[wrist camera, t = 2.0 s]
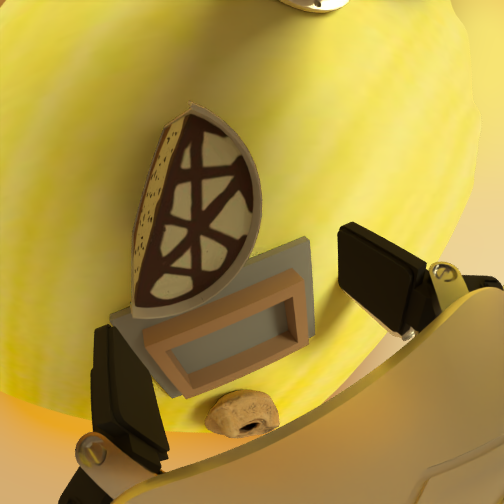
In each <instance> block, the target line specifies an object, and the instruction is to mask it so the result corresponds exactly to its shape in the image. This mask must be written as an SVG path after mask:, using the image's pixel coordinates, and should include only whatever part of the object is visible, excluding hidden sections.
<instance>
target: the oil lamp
mask: <svg viewBox="0 0 504 504" xmlns="http://www.w3.org/2000/svg"><path fill="white" fill-rule="evenodd" d="M279 424H280V423H279V415H278V410H277V408H276V406H275V405H274V403H273V401H272V399H271V398H270V396H269V395H268V394H265V393H263V392H260V391H252V390H238V391H235V392H231V393H228V394H226V395H224V396H223V397H221V398H220V399H219V400H218V401H217V403H216V404H215V405H214V407H212V409H211V410H210V411H209V413H208V416H207V417H206V419H205V425H206V427H207V429H208V430H210V431H212V432H214V433H217V434H222V435H225V436H227V437H229V438H243V437H248V436H252V435H259V434H264V433H267V432H269V431H272V430H273V429H274V428H276V427H278V426H279Z"/></svg>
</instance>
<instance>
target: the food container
mask: <svg viewBox="0 0 504 504" xmlns="http://www.w3.org/2000/svg"><path fill="white" fill-rule="evenodd" d="M188 104H189V105H190V108H189V109H188V110H187V111H185V112H184V113H182V114H181V115H179V116H178V117H176V118H175V119H173V120H172V121H171V122H169V123H168V124H166V125H165V126H164V128H163V131H162V133H161V136H160V139H159V142H158V145H157V148H156V150H155V153H154V156H153V160H152V163H151V166H150V169H149V172H148V175H147V179H146V182H145V185H144V189H143V192H142V196H141V200H140V203H139V207H138V211H137V215H136V219H135V223H134V227H133V232H132V248H131V296H132V302H130V308H131V314H132V317H133V318H134V319H155V318H164V317H169V316H173V315H178V314H180V313H183V312H186V311H189V310H191V309H193V308H195V307H197V306H199V305H201V304H203V303H205V302H207V301H208V300H210V299H211V298H213V297H214V296H216V295H217V294H218V293H219V292H220V291H222V290H223V289H224V288H225V287H226V286H227V285H228V284H229V283H230V282H231V281H232V280H233V279H234V278H235V277H236V275H237V274H238V273H239V272H240V270H241V269H242V267H243V266H244V264H245V263H246V261H247V260H248V258H249V256H250V254H251V252H252V249H253V247H254V245H255V242H256V239H257V236H258V233H259V228H260V223H261V217H262V193H261V185H260V179H259V175H258V172H257V169H256V165H255V163H254V161H253V159H252V156H251V154H250V152H249V150H248V148H247V147H246V146H245V144H244V143H243V141H242V140H241V139H240V137H239V136H238V134H237V133H236V132H235V131H234V130H233V129H232V128H231V127H230V126H229V125H227V124H226V123H225V122H224V121H223V120H222V119H221V118H220V117H218V116H217V115H215V114H214V113H212V112H211V111H209V110H208V109H206V108H205V107H203V106H200V105H198V104H196V103H194V102H191V101H189V102H188Z"/></svg>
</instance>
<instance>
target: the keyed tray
mask: <svg viewBox="0 0 504 504" xmlns="http://www.w3.org/2000/svg"><path fill="white" fill-rule="evenodd" d="M110 322H111V324H112V325H113V326H115V327H116V328H117V329H118V330H119V332H120V333H121V335H122V336H123V337H124V339H125V340H126V341H127V343H128V344H129V346H130V347H131V348H132V350H133V351H134V352H135V354H136V355H137V356H138V357H139V359H140V360H141V361H142V363H143V364H144V365H145V366H146V368H147V369H148V370H149V372H150V374H151V375H152V376H153V378H154V379H155V380H156V381H157V382H158V383H159V384H160V386H161V387H162V388H163V389H164V390H165V391H166V392H167V393H168V394H169V396H170V397H171V398H175V397H178V396H181V395H183V396H184V397H185V398H186V399H188V398H191V397H193V396H196V395H199V394H201V393H204V392H207V391H209V390H212V389H214V388H217V387H219V386H222V385H224V384H226V383H229V382H231V381H234V380H236V379H238V378H241V377H243V376H245V375H247V374H250V373H252V372H254V371H256V370H258V369H260V368H263V367H265V366H267V365H269V364H271V363H273V362H275V361H277V360H279V359H281V358H283V357H285V356H287V355H289V354H291V353H293V352H295V351H297V350H299V349H301V348H303V347H305V346H307V345H308V344H309V338H311V337H312V336H314V335H315V318H314V297H313V280H312V265H311V251H310V240H309V239H308V238H306V237H305V236H304V237H301V238H299V239H296V240H294V241H292V242H289V243H287V244H284V245H282V246H279V247H277V248H274V249H272V250H269V251H267V252H265V253H262V254H260V255H257V256H255V257H252V258H250V259H248V260H247V261H246V263H245V264H244V266H243V267H242V269H241V270H240V272H239V273H238V274H237V275H236V277H235V278H234V279H233V280H232V281H231V282H230V283H229V284H228V285H227V286H226V287H225V288H224V289H223V290H222V291H220V292H219V293H218V294H217V295H216V296H214V297H213V298H211V299H210V300H208V301H207V302H205V303H203V304H201V305H199V306H197V307H195V308H193V309H191V310H189V311H186V312H183V313H180V314H178V315H173V316H169V317H164V318H155V319H134V318H133V317H132V314H131V308H130V307H128V308H125V309H123V310H120V311H118V312H115V313H113V314H110Z"/></svg>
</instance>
